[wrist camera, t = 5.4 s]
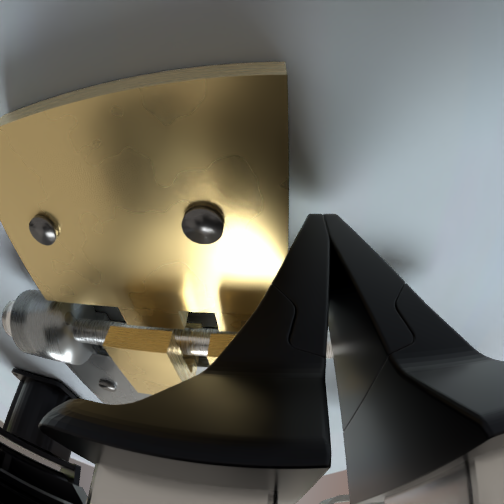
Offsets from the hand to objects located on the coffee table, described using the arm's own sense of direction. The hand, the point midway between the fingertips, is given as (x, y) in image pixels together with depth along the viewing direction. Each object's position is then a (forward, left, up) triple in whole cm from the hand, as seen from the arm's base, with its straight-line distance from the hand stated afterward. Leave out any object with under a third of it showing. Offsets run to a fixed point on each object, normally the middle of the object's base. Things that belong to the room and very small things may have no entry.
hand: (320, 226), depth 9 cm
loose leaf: (-5, -1, -1) cm, 6 cm away
